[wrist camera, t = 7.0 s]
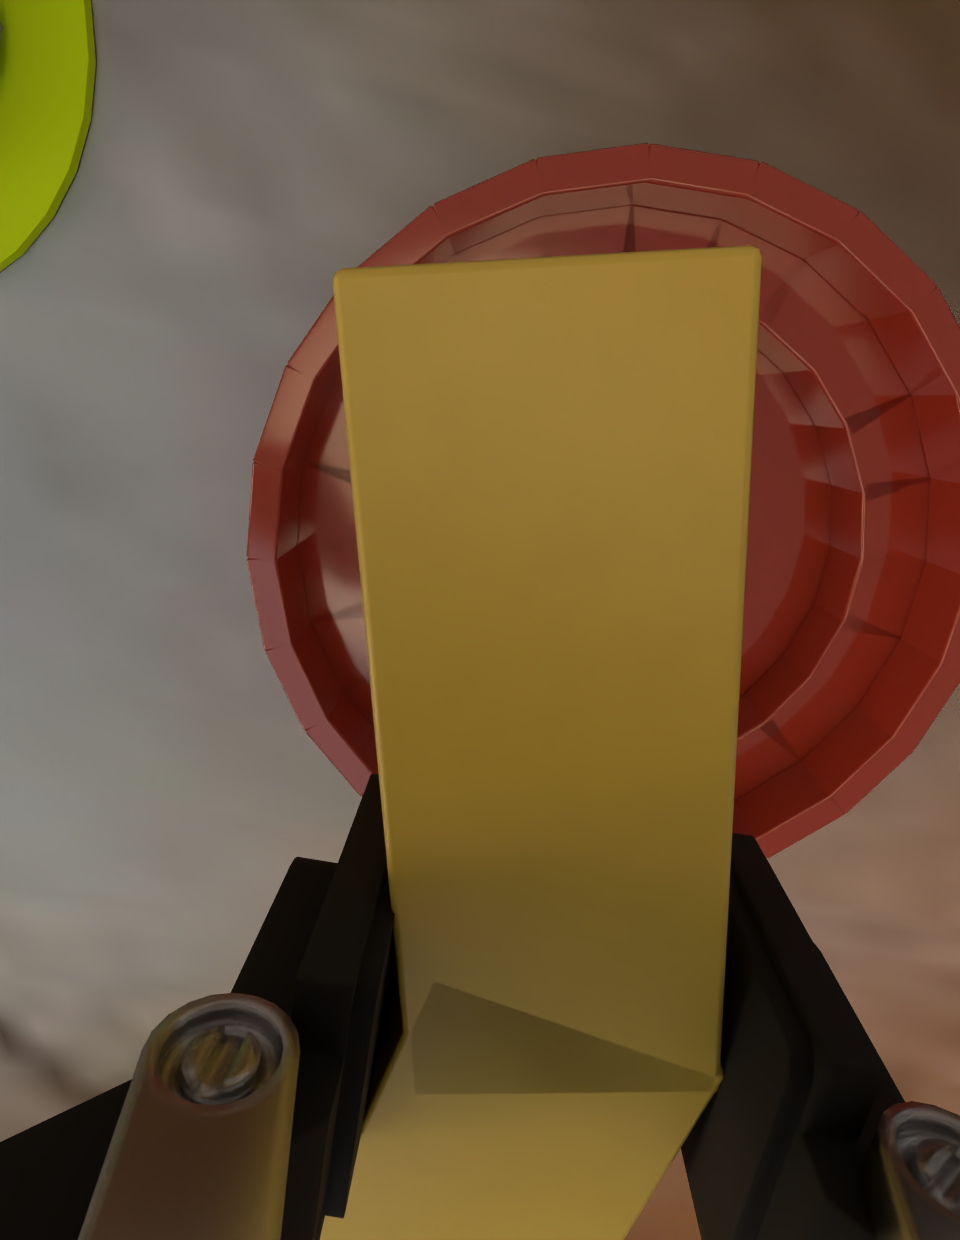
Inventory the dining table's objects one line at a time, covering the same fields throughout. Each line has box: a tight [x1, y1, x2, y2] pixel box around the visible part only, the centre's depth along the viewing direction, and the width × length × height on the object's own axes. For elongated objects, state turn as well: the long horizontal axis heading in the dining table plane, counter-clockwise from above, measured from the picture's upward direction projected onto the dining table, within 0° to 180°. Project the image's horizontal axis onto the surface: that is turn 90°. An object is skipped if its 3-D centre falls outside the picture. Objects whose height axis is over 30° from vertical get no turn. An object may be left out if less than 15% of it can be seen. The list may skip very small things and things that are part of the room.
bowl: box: [247, 143, 960, 858], centre depth 22 cm, size 20×20×5 cm
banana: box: [320, 245, 762, 1240], centre depth 10 cm, size 5×16×3 cm, turn 171°
